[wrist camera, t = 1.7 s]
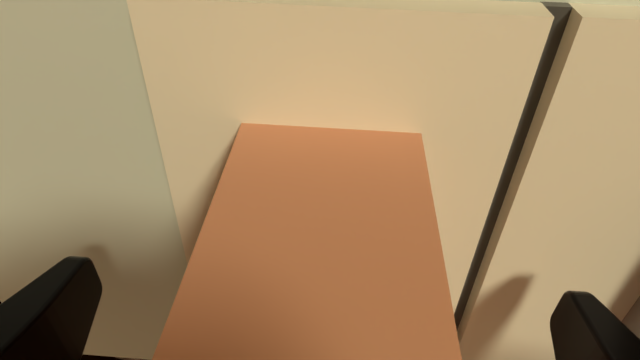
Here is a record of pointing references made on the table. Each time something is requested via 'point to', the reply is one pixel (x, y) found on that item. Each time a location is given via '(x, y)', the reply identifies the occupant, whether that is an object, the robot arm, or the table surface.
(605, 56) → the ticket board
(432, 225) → the stub
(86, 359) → the table surface
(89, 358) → the table surface
